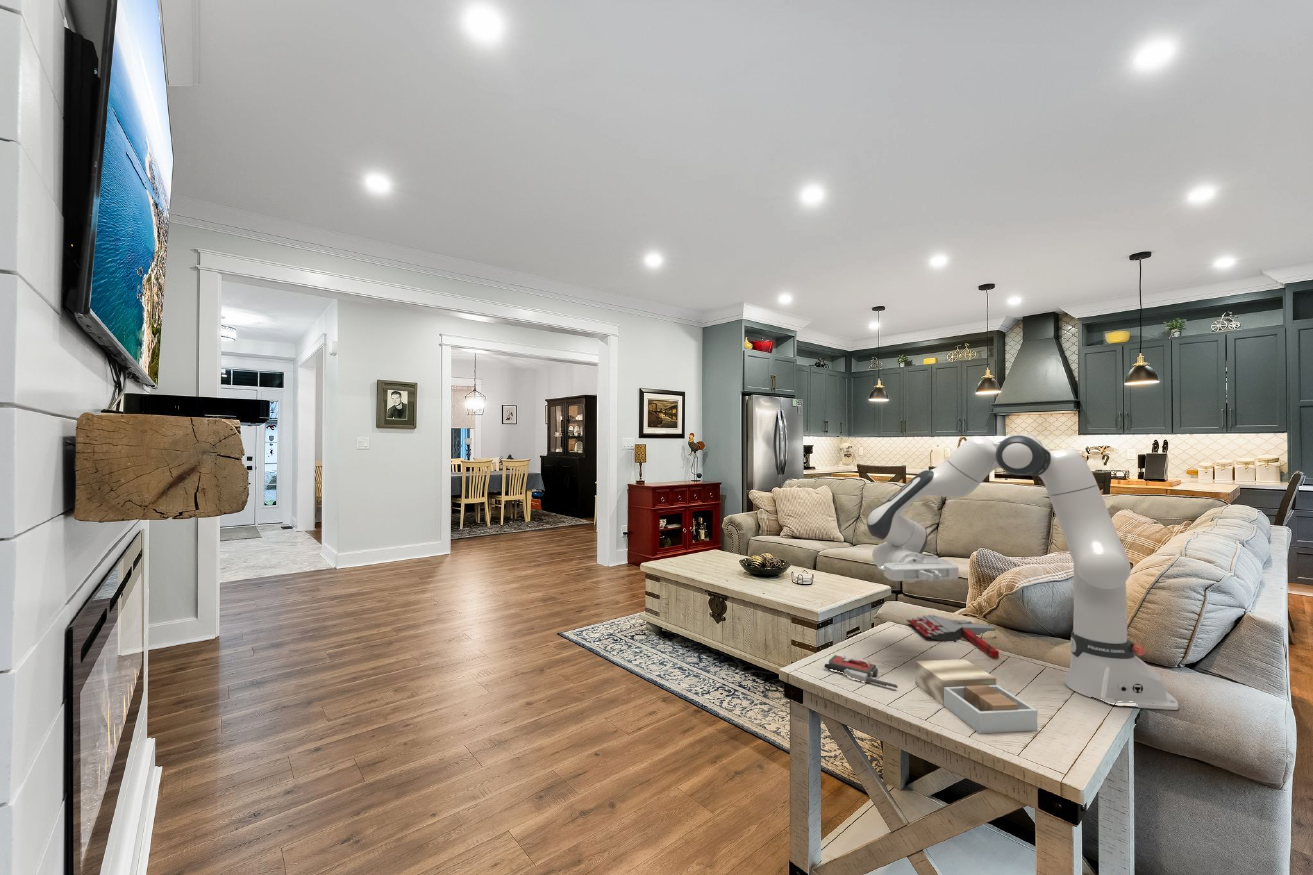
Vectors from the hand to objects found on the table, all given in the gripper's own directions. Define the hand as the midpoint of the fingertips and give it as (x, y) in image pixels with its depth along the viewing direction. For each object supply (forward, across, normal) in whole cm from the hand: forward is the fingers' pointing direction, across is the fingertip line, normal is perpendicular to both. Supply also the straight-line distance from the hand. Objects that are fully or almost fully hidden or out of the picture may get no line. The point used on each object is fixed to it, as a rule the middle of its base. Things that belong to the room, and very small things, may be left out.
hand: (936, 578), depth 155 cm
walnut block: (+16, 0, +24) cm, 29 cm away
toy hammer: (-26, +26, +28) cm, 46 cm away
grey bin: (+21, 0, +28) cm, 34 cm away
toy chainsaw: (-4, -19, +28) cm, 34 cm away
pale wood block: (+8, 0, +28) cm, 29 cm away
